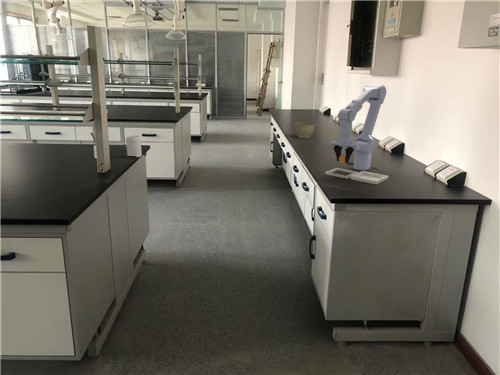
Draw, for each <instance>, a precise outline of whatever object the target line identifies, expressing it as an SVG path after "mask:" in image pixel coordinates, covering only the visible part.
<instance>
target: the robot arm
mask: <svg viewBox="0 0 500 375" xmlns="http://www.w3.org/2000/svg"><path fill="white" fill-rule="evenodd" d="M386 95H387V88H386V85H383V84H381V85H379V84H366V85H365V86H364V87H363V89H362V93H361V94H360V95H359V97H358V98H357V99H355V98H354V99H352V100H351V102H350V103H348V105H347V106H346V107H345V108H341V109H340V110H339V111H338V114H337V119H338V124H339V128H338V129H339V130H338V141H336V140H335V141H334V140H331V141H329V145H330V146H332V147H333V151H334V153H335V156H336V157H335V158H336V161H337V162H340V161H339V157H340V156H341V155H342V151H343V148H345V150H344V152H345V156H346V159H345V163H344V164H346V163H348V162H350V159H351V156H352V154H354V162H353V163H354V165H353V169H354V170H357V171H367V170H369V169H371V168H370V167H372V165H371V164H372V153H373V152H374V149H375V140H374V138H373V136H372V135H373V132H374V129H375V126H376V122H377V119H378V116H379V113H380V109H381V106H382V105H383V104H384V102H385V99H386ZM366 102H367V103H368V104H369V109H368V111H367V114H366V117H365V121H364V124H363V127H362V130H361V132H360V134H358V135H357V136H356V137H355V139H354V141H353V142H351V141H352V131H353V130H352V129H353V121H355V120H356V117H357V114H358V113H359V111H361V110H362V108H363V104H365V103H366ZM371 170H372V169H371Z"/></svg>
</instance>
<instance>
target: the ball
mask: <svg viewBox="0 0 500 375" xmlns="http://www.w3.org/2000/svg"><path fill="white" fill-rule="evenodd" d="M345 159H346V154H341V156H340V157H339V161H338V162H339V163H340V164H346V163H345Z"/></svg>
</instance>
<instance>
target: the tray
mask: <svg viewBox="0 0 500 375" xmlns="http://www.w3.org/2000/svg"><path fill="white" fill-rule="evenodd" d="M335 172H344V173H349V174H347V175H343V174H340V173H339V174H338V173H335ZM357 173H359V171H355V170H350V169H345V168H339V167H336V168H333V169H330V170H327V171H325V172H324V175H327V176H331V177H337V178H342V179H349V178H351V176H352V175H354V174H357Z"/></svg>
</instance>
